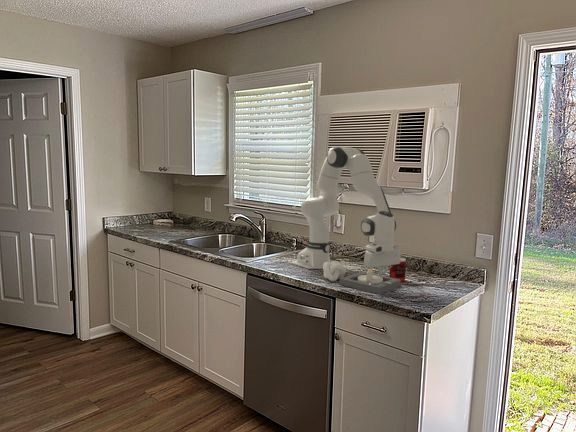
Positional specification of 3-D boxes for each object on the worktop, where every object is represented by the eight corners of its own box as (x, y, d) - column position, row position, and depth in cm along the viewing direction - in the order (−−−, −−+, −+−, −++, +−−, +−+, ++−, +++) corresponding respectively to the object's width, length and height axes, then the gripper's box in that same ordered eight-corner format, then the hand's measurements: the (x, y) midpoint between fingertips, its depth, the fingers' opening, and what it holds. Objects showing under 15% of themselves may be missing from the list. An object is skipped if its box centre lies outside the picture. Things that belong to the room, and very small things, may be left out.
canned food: (393, 277, 232) (394, 256, 231) (407, 280, 227) (408, 259, 226) (386, 280, 226) (387, 258, 225) (401, 283, 221) (402, 261, 220)
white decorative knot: (335, 284, 217) (335, 266, 215) (315, 279, 224) (316, 262, 223) (348, 279, 225) (348, 262, 224) (328, 275, 233) (329, 258, 232)
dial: (359, 277, 224) (360, 265, 223) (384, 280, 220) (384, 268, 219) (355, 284, 212) (355, 271, 211) (380, 286, 208) (381, 273, 207)
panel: (339, 284, 216) (339, 278, 215) (361, 277, 231) (361, 271, 230) (379, 294, 201) (380, 287, 201) (400, 285, 217) (400, 279, 216)
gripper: (395, 243, 218) (393, 270, 220) (362, 246, 208) (361, 275, 210) (404, 245, 213) (402, 274, 215) (371, 249, 203) (370, 278, 204)
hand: (381, 274), depth 212 cm, fingers closed
